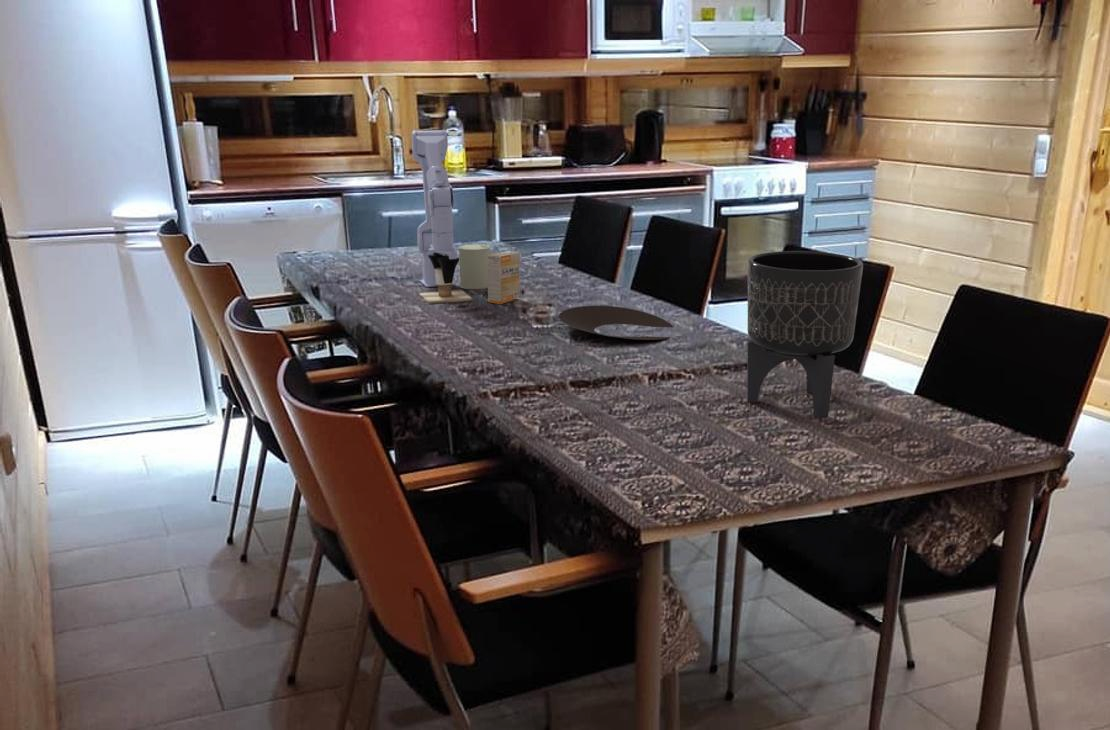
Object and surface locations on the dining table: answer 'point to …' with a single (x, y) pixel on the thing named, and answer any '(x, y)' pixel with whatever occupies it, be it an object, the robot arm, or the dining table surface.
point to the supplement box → (503, 277)
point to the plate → (610, 319)
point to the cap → (440, 277)
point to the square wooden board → (445, 295)
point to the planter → (800, 316)
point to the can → (474, 266)
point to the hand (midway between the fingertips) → (444, 281)
